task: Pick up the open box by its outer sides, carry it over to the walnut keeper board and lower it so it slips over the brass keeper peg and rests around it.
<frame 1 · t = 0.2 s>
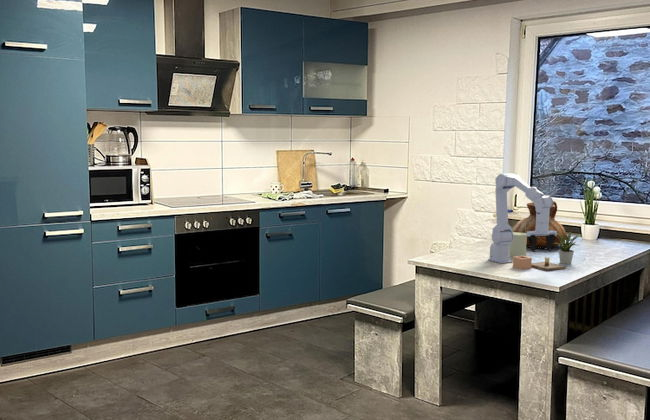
hand: (540, 251, 305), 10 cm above the table, tool pointing down, fingers open, 7 cm apart
jug: (537, 246, 372), on the table
can: (516, 255, 344), on the table
house plant: (567, 264, 325), on the table
keeper: (546, 267, 315), on the table
open box: (521, 267, 315), on the table
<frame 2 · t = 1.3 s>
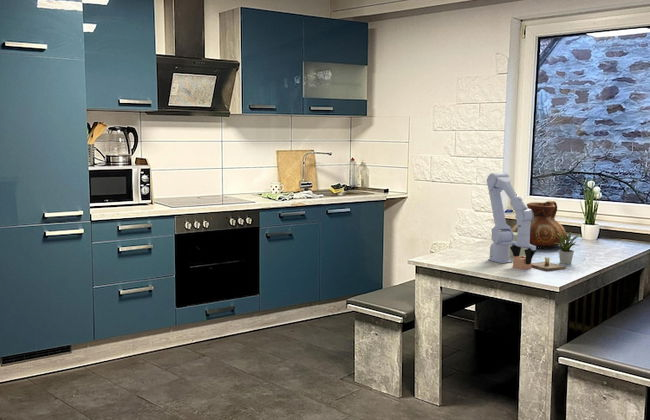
hand: (522, 262, 314), 2 cm above the table, tool pointing down, fingers open, 7 cm apart
nothing on the table moved.
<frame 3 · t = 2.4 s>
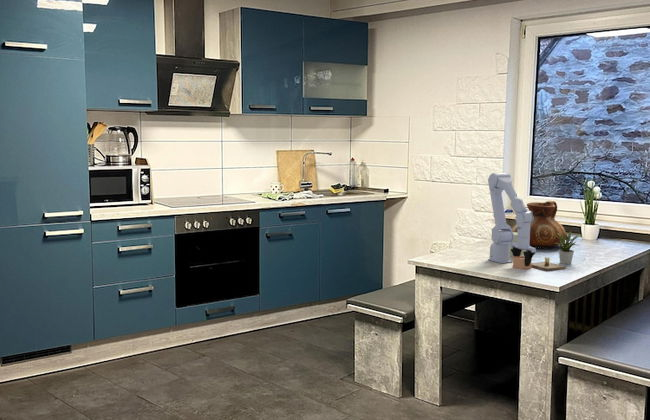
hand: (522, 264, 315), 1 cm above the table, tool pointing down, fingers closed on open box, 6 cm apart
open box: (521, 267, 315), on the table, touching gripper
everything else where it was.
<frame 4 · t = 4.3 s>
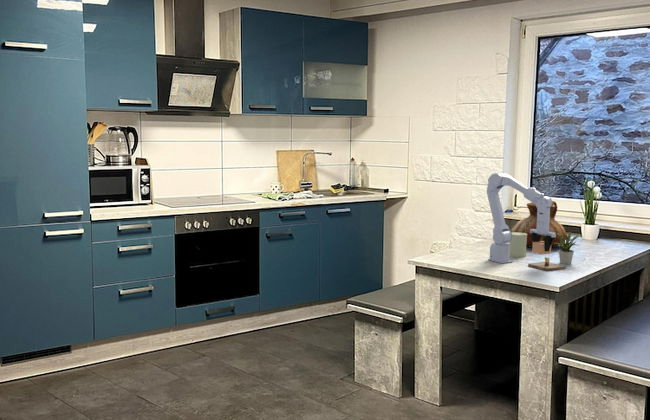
hand: (541, 250, 314), 9 cm above the table, tool pointing down, fingers closed on open box, 6 cm apart
open box: (541, 252, 314), point 7 cm above the table, touching gripper
everything else where it was.
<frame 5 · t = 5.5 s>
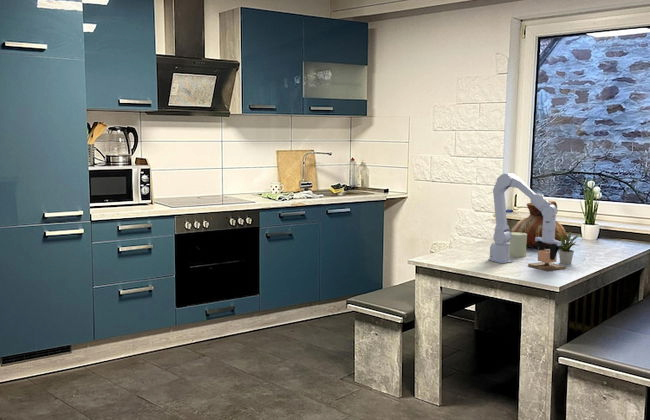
hand: (547, 258, 315), 4 cm above the table, tool pointing down, fingers closed on open box, 6 cm apart
open box: (546, 261, 315), point 3 cm above the table, touching gripper
everything else where it was.
when the fingers open (4 cm above the table, at t = 6.5 s): open box drops 2 cm, resting on keeper.
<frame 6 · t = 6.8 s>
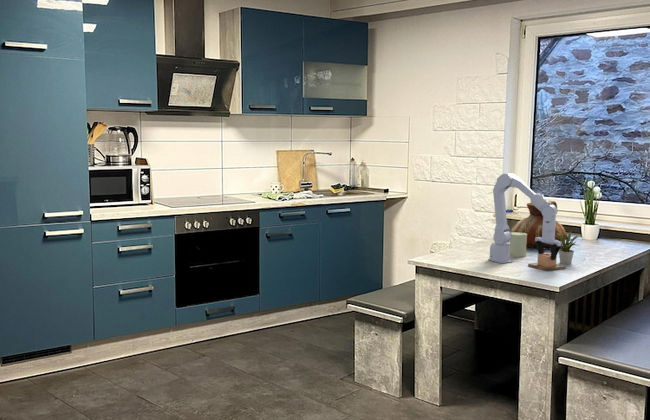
hand: (547, 258, 315), 4 cm above the table, tool pointing down, fingers open, 7 cm apart
open box: (546, 265, 315), point 1 cm above the table, touching keeper
everything else where it was.
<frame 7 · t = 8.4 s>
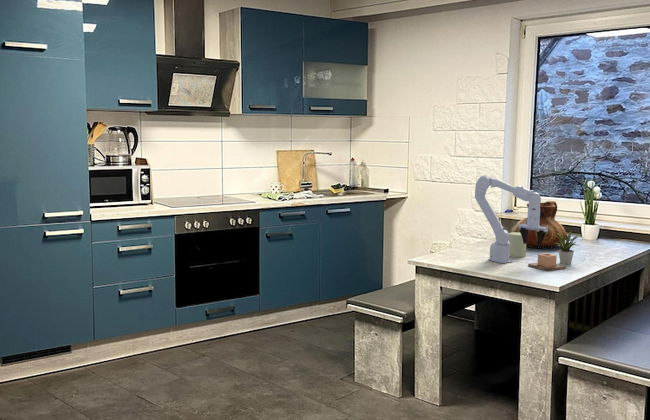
hand: (532, 244, 323), 9 cm above the table, tool pointing down, fingers open, 7 cm apart
nothing on the table moved.
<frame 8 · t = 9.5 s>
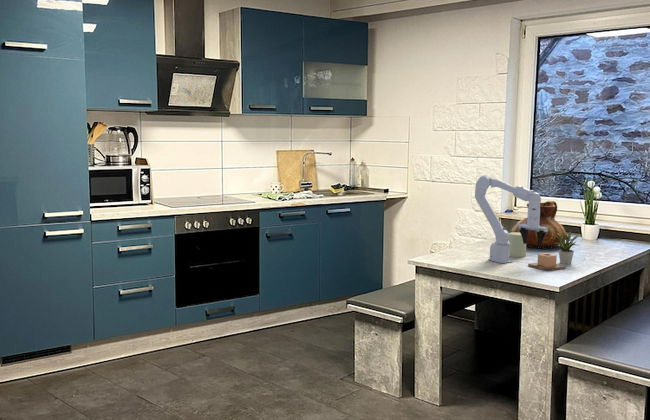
hand: (532, 244, 323), 9 cm above the table, tool pointing down, fingers open, 7 cm apart
nothing on the table moved.
at the end: open box 0.0 cm off-centre on the keeper, point 1.2 cm above the keeper's base; open box tilted 0°; the gripper is holding nothing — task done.
